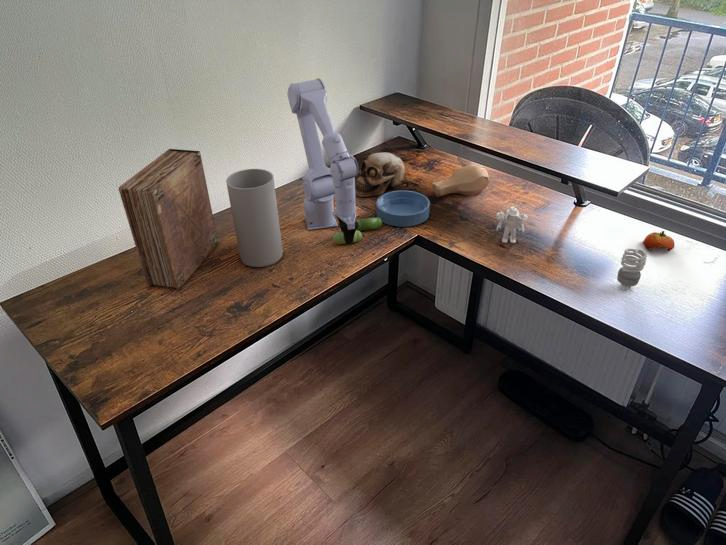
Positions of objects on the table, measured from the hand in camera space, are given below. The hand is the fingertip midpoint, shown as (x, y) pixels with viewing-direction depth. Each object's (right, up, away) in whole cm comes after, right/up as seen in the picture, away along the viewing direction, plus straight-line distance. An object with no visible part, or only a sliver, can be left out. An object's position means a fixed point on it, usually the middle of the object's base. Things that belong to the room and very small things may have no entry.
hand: (347, 238), depth 168 cm
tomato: (+91, -3, -6) cm, 91 cm away
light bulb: (+74, -15, -21) cm, 78 cm away
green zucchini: (+6, +3, +7) cm, 10 cm away
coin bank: (+10, +20, +30) cm, 38 cm away
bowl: (+18, +9, +14) cm, 24 cm away
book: (-47, -8, -7) cm, 48 cm away
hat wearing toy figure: (+49, -1, -1) cm, 49 cm away
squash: (+39, +18, +26) cm, 50 cm away
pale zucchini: (0, -1, +1) cm, 1 cm away
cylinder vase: (-25, -6, -4) cm, 26 cm away
